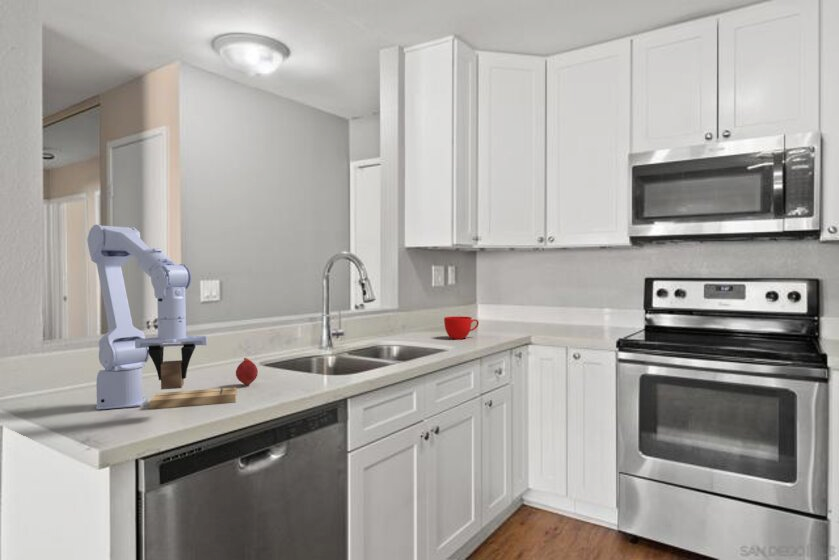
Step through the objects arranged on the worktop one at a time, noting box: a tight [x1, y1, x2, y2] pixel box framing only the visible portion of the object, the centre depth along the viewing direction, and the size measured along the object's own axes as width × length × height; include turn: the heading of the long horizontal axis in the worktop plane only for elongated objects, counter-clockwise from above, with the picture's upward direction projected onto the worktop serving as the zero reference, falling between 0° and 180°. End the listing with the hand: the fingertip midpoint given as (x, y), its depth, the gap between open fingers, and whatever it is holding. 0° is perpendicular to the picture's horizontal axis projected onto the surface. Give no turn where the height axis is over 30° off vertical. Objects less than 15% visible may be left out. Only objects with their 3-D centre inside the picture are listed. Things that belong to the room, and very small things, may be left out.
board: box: [149, 386, 238, 410], centre depth 128 cm, size 19×8×2 cm, turn 108°
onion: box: [235, 357, 258, 387], centre depth 146 cm, size 6×6×8 cm
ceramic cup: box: [443, 316, 479, 340], centre depth 244 cm, size 13×17×10 cm
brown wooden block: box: [160, 359, 185, 390], centre depth 118 cm, size 4×9×6 cm, turn 18°
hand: (172, 378), depth 115 cm, fingers closed on brown wooden block, 4 cm apart
